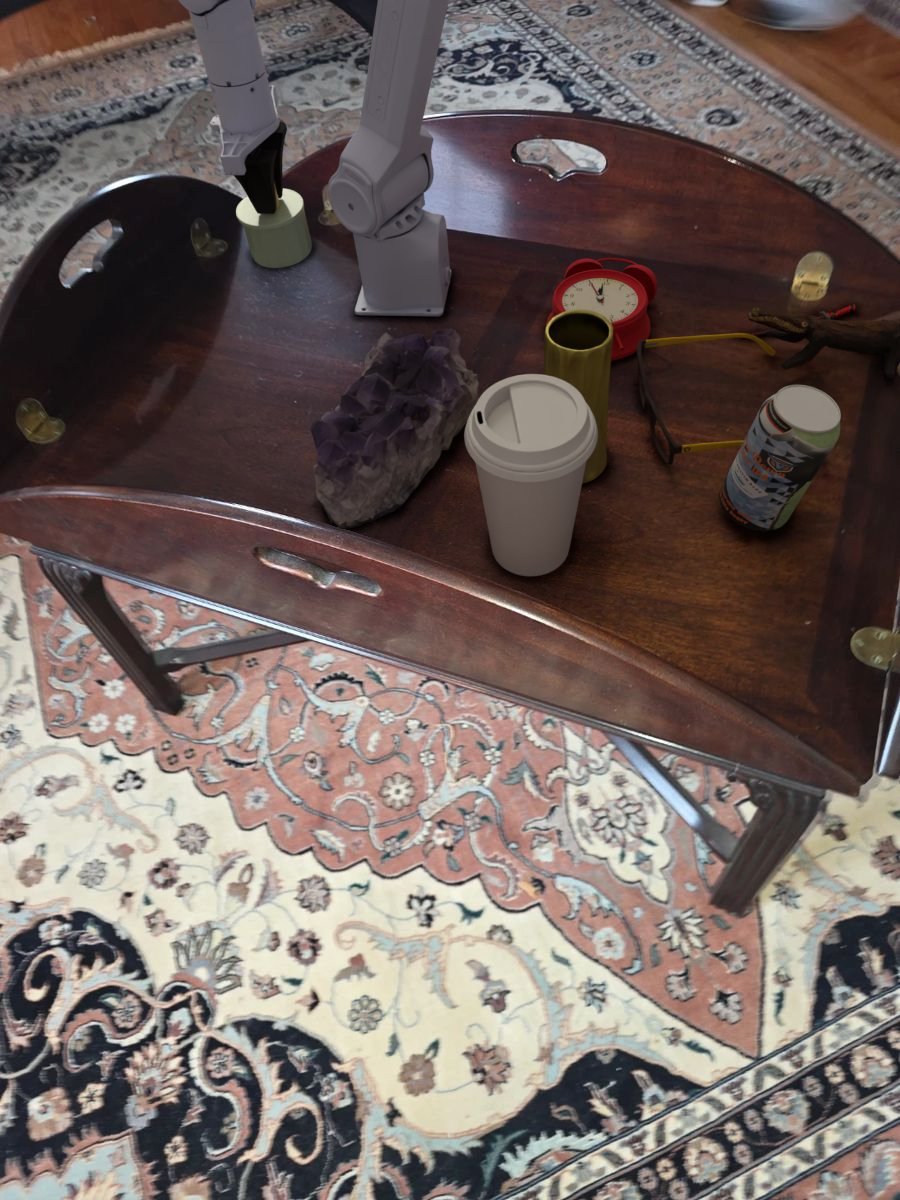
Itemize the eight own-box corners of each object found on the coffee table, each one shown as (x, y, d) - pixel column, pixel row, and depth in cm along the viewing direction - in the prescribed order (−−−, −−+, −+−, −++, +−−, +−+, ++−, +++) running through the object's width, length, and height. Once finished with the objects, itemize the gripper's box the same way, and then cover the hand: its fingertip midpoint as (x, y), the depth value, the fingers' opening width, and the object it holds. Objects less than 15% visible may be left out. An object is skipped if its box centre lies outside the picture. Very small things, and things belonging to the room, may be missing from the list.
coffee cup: (490, 494, 77) (483, 358, 65) (598, 513, 75) (611, 376, 63) (459, 579, 72) (445, 448, 60) (574, 602, 70) (583, 470, 58)
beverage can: (707, 489, 76) (734, 380, 66) (792, 479, 76) (831, 369, 66) (727, 545, 72) (757, 438, 62) (816, 535, 72) (861, 427, 62)
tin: (317, 233, 103) (309, 193, 99) (304, 268, 99) (294, 228, 95) (260, 232, 104) (249, 193, 100) (245, 268, 100) (233, 228, 96)
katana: (864, 310, 87) (862, 316, 87) (856, 300, 88) (854, 306, 88) (742, 340, 86) (741, 345, 87) (735, 329, 87) (734, 335, 88)
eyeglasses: (625, 372, 85) (629, 338, 82) (774, 355, 85) (783, 320, 81) (658, 479, 76) (664, 447, 73) (823, 460, 76) (837, 426, 73)
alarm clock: (531, 333, 84) (569, 216, 89) (534, 373, 90) (570, 261, 95) (639, 348, 81) (672, 227, 86) (636, 389, 87) (667, 273, 92)
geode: (409, 553, 74) (376, 470, 66) (299, 526, 79) (256, 446, 71) (504, 393, 84) (485, 304, 76) (400, 378, 88) (372, 292, 80)
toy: (741, 370, 80) (768, 327, 76) (731, 318, 84) (756, 274, 80) (965, 414, 83) (1002, 375, 79) (945, 361, 87) (980, 321, 83)
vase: (602, 489, 77) (615, 358, 65) (533, 482, 78) (533, 352, 66) (609, 440, 80) (623, 307, 68) (543, 434, 81) (544, 302, 69)
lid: (312, 197, 100) (303, 157, 96) (296, 235, 96) (287, 195, 92) (248, 197, 101) (237, 157, 97) (230, 235, 97) (218, 195, 93)
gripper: (218, 41, 91) (252, 169, 102) (175, 110, 82) (217, 241, 93) (284, 39, 90) (310, 169, 101) (247, 109, 81) (281, 242, 93)
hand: (270, 204), depth 97 cm, fingers closed on lid, 2 cm apart
